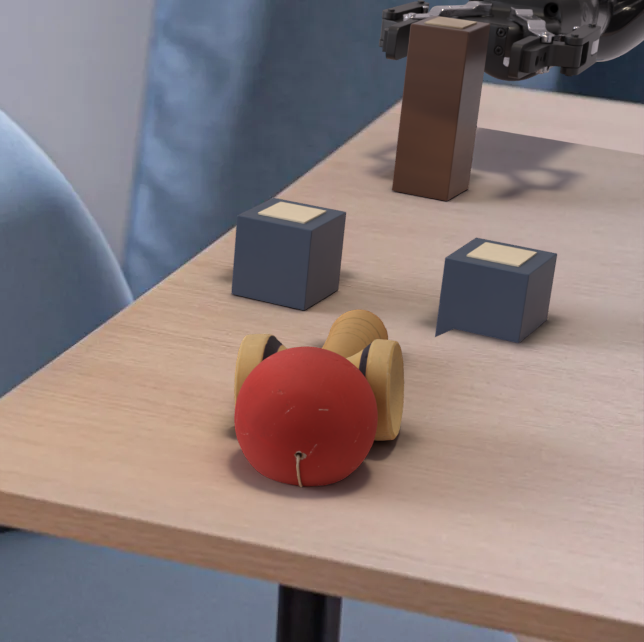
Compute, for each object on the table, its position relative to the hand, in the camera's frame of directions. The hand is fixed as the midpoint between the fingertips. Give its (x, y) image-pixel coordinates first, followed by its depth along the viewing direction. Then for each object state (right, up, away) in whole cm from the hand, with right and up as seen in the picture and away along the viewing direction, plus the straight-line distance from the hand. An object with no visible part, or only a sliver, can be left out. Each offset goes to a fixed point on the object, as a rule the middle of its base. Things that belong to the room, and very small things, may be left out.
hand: (451, 52), depth 116 cm
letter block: (-1, -8, +3) cm, 9 cm away
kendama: (-13, -27, -35) cm, 46 cm away
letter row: (-7, -20, -20) cm, 29 cm away
